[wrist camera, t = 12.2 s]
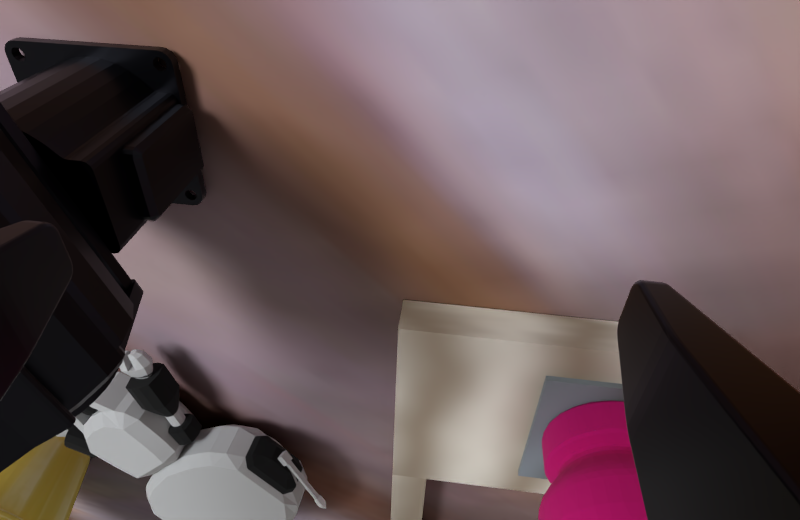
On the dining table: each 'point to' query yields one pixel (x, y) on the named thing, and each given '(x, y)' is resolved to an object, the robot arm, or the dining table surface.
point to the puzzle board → (489, 394)
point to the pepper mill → (590, 466)
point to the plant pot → (42, 483)
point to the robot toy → (187, 452)
